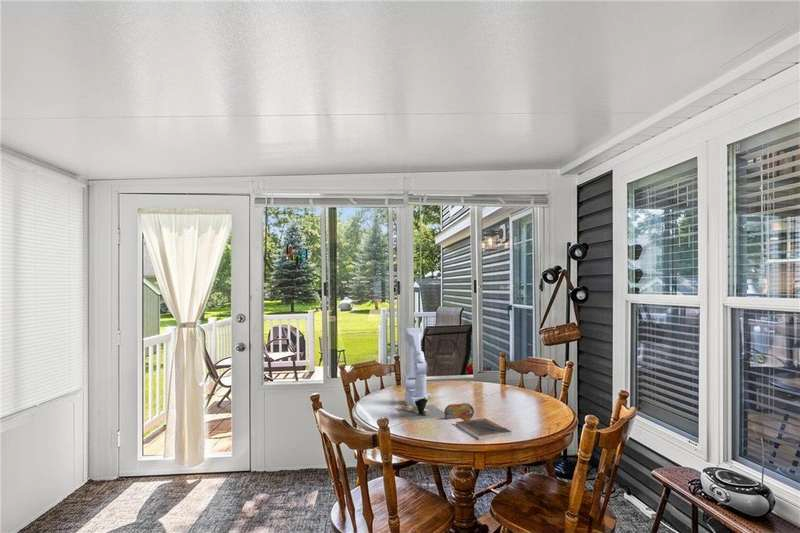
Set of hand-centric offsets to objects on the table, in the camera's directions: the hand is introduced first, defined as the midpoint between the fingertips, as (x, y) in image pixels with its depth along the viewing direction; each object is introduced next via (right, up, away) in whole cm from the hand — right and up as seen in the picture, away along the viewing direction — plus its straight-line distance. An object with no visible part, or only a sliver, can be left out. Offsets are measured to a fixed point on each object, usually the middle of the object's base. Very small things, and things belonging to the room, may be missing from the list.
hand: (421, 414), depth 224 cm
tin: (+19, -2, -4) cm, 19 cm away
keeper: (-2, -1, +10) cm, 10 cm away
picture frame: (+28, -2, -18) cm, 33 cm away
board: (0, -2, +6) cm, 6 cm away
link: (-3, -1, +6) cm, 7 cm away
